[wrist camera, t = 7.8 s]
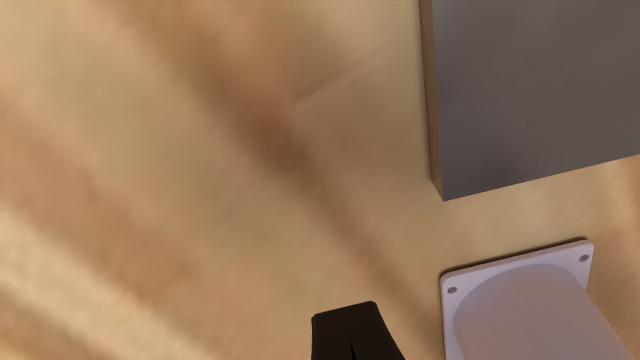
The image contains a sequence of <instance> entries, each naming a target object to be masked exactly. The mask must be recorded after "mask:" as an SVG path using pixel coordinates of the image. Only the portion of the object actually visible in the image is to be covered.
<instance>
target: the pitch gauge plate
mask: <svg viewBox="0 0 640 360" xmlns="http://www.w3.org/2000/svg"><path fill="white" fill-rule="evenodd" d="M419 6H420V20H421V34H422V49H423V63H424V77H425V92H426V106H427V120H428V135H429V149H430V163H431V177H432V182H433V184H434V186H435V188H436V189H437V191H438V193H439V195H440V197H441V199H442V201H443V202H444V201H448V200H452V199H456V198H460V197H464V196H469V195H473V194H477V193H481V192H485V191H489V190H493V189H497V188H502V187H506V186H510V185H514V184H518V183H522V182H526V181H530V180H535V179H539V178H543V177H547V176H551V175H555V174H559V173H563V172H568V171H572V170H576V169H580V168H584V167H588V166H592V165H596V164H601V163H605V162H609V161H613V160H617V159H621V158H625V157H629V156H634V155H638V154H640V0H419Z"/></svg>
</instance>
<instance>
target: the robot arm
mask: <svg viewBox="0 0 640 360" xmlns="http://www.w3.org/2000/svg"><path fill="white" fill-rule="evenodd" d="M593 252H594V246H593V244H592V243H591V242H590V241H589V240H580V241H576V242H572V243H568V244H564V245H560V246H556V247H551V248H547V249H543V250H539V251H535V252H531V253H527V254H523V255H518V256H514V257H510V258H506V259H502V260H498V261H494V262H490V263H486V264H481V265H477V266H473V267H469V268H465V269H461V270H457V271H453V272H449V273H446V274H444V275H443V276H442V277H441V279H440V287H441V302H442V317H443V332H444V346H445V360H636V359H635V358H634V357H633V355H632V354H631V352H630V351H629V350H628V348H627V347H626V346H625V344H624V343H623V342H622V340H621V339H620V337H619V336H618V335H617V333H616V332H615V331H614V329H613V328H612V327H611V325H610V324H609V322H608V321H607V320H606V318H605V317H604V316H603V314H602V313H601V312H600V310H599V309H598V307H597V306H596V305H595V303H594V302H593V301H592V299H591V298H590V297H589V295H588V294H587V292H586V288H587V283H588V278H589V273H590V268H591V262H592V257H593ZM311 321H312V354H311V360H405V358H404V357H403V355H402V353H401V352H400V350H399V348H398V347H397V345H396V343H395V341H394V340H393V338H392V336H391V334H390V332H389V331H388V329H387V327H386V325H385V323H384V321H383V319H382V316H381V314H380V312H379V310H378V307H377V304H376V303H375V302H372V301H367V302H363V303H359V304H355V305H351V306H346V307H342V308H338V309H334V310H330V311H326V312H322V313H318V314H315V315H314V316H313V317H312V318H311Z"/></svg>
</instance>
